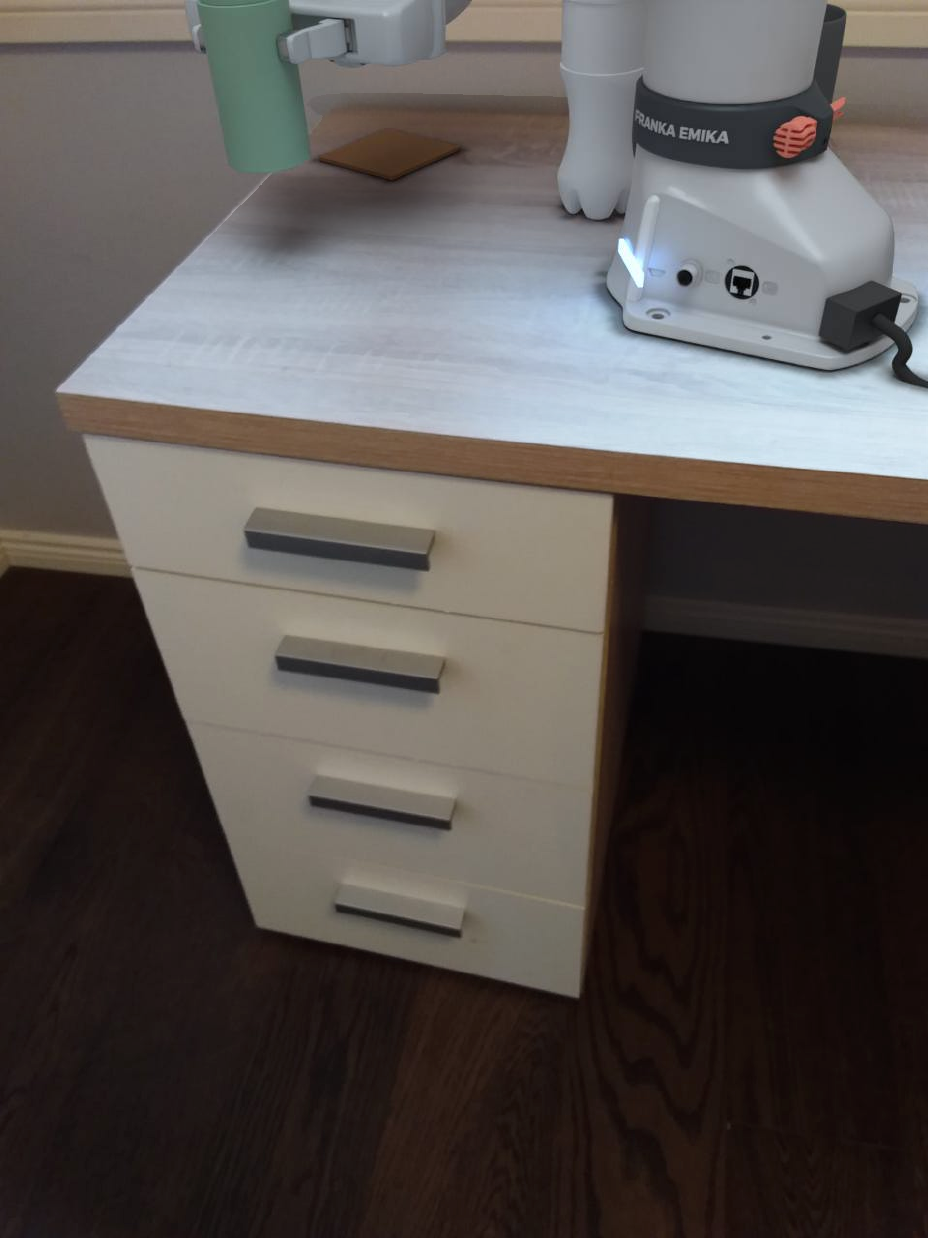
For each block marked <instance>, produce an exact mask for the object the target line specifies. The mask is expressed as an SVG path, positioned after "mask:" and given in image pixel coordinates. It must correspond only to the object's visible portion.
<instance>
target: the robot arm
mask: <svg viewBox="0 0 928 1238" xmlns="http://www.w3.org/2000/svg"><path fill="white" fill-rule="evenodd" d="M183 1H184V2H183V3H184V11H185V12H184V13H185V18H186V22H187V27H188V30H189V34H190V39H191V40H192V42H193V43H194V48H195V51H196V52H197V53H198V54H204V55H207V53H206V48H205V43H204V38H203V33H202V28H201V23H200V18H199V13H198V8H197V3H196V0H183ZM828 1H829V0H648V10H647V24H646V38H645V52H644V66H643V75H642V76H641V77H639V79H638V80H637V83H636V91H635V101H634V111H633V125H632V148H633V155H634V158H635V161H634V168H633V175H632V182H631V188H630V194H629V199H628V204H627V210H626V213H625V215H624V219H623V222H622V223H623V224H622V229H621V231H620V236H619V238H618V243H617V246H616V250H615V253H614V256H613V259H612V262H611V265H610V267H609V269H608V272H607V275H606V287H607V289H608V291H609V293H610V295H611V296H612V297H613V298H614V299H615V300H616V302H618V303H619V305H620V307H621V308H622V321H623V324H624V326H625V327H626V328H628V329H629V330H632V331H636V332H638V333H639V332H640V333H644V334H648V335H653V336H657V337H663V338H668V339H674V340H677V341H678V340H679V341H683V342H687V343H692V344H698V345H703V346H707V347H712V348H716V349H720V350H726V351H731V352H736V353H741V354H745V355H751V356H756V357H760V358H765V359H770V360H775V361H780V362H783V363H789V364H795V365H799V366H804V367H810V368H814V369H817V370H818V369H820V370H826V371H830V370H831V371H833V370H834V371H835V370H838V369H844V368H847V367H852V366H855V365H858V364H862V363H863V362H866V361H868V360H870V359H872V358H874V357H877V356H878V355H880V354H881V353H883V352H884V351H886V350H887V349H889V348H891V347H892V346H893V345H894V344H895V345H896V348H897V351H896V354H895V355H894V357H893V358H892V361H891V368H892V370H893V373H894V374H895V375H896V376H897V378H898V379H899V380H900V381H901V382H903V383H905V384H908V385H911V386H915V387H920V388H924V389H928V380H925V379H924V378H923V377H920V376H918V375H917V374H916V373H914V371H912V369H911V368H910V367H909V366H908V364H907V363H908V361H909V360H910V358H911V357H912V355H913V350H914V346H913V343H912V340H911V338H910V336H909V335H908V334H907V331H909V329H910V328H911V326H912V324H913V323H914V322H915V319H916V317H917V313H918V307H919V301H920V300H919V293H918V290H917V288H916V286H915V285H914V284H913V283H912V282H909V281H907V280H904V279H901V278H899V277H896V276H893V273H894V272H893V271H894V264H895V263H894V260H895V248H896V246H895V245H896V243H895V242H896V241H895V228H894V223H893V219H892V218H891V215H890V214H889V212H888V211H887V210H886V208H884V207H883V206H882V205H881V204H880V203H879V202H878V201H877V200H876V199H875V198H874V197H873V195H872V194H871V193H870V192H869V191H868V190H867V189H866V187H864V185H862V183H860V181H859V180H858V179H857V178H856V176H854V175H853V173H852V172H851V171H850V170H849V169H848V167H847V166H845V164H844V163H843V162H842V161H841V160H840V158H839V157H838V156H837V155H836V154H835V153H834V151H832V149H831V148H830V147H829V144H830V143H829V142H830V138H831V134H832V129H833V128H832V127H833V122H834V121H836V120H837V119H839V118H841V117H842V116H843V115H844V113H845V111H843V110H842V111H841V109H843V107H844V106H845V104H846V102H847V97H846V96H842V97H840V98H838V99H836V100H835V101H834V102H832V104H829V103H828V101H827V100H826V98H825V97H824V95H823V94H822V92H821V91H820V89H819V87H818V84H817V82H816V80H815V79H814V77H813V75H814V69H815V64H816V58H817V52H818V47H819V42H820V36H821V31H822V26H823V21H824V16H825V11H826V6H827V4H828ZM472 2H473V0H289V6H290V13H291V20H292V27H293V30H289V31H286V32H285V33H282V34H279V35H278V36H277V39H276V44H277V47H278V49H279V52H278V57H279V60H280V61H281V62H284V63H291V64H298V65H302V64H303V63H305V62H308V61H310V60H320V59H321V60H328V61H330V62H331V63H333V64H334V65H337V66H340V67H343V68H348V69H357V68H362V67H365V66H366V65H377V66H383V67H401V66H408V65H411V64H413V63H417V62H419V61H424V60H429V61H430V60H434V59H437V58H439V57H442V56H443V55H444V54H445V51H446V37H447V36H446V34H447V33H446V31H447V29H446V28H447V27H446V26H448V25H449V24H451V22H453V21H454V20H456V19H457V18H458V17H459V16H460V15H461V14H462V13H463V12H464V11H465V10H466V9H467V8H468V7H469V6H470V4H471V3H472Z"/></svg>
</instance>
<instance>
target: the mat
mask: <svg viewBox="0 0 928 1238" xmlns="http://www.w3.org/2000/svg"><path fill="white" fill-rule="evenodd" d="M459 151H461V146H460V145H457V144H453V143H449V142H444V141H441V140H436V139H431V138H428V137H424V136H419V135H415V134H411V133H407V132H403V131H400V130H399V131H398V130H394V129H390V128H386V129H383V130H381V131H378V132H376V133H374V134H371V135H369V136H366V137H364V138H363V137H362V138H360V139H358V140H356V141H353V142H351V143H348V144H346V145H343V146H342V147H339V148H336V149H334V150H331V151H329V152H327V153H323V154H321V155H319V156H318V160H319V161H321V162H324V163H328V164H330V165H331V164H332V165H334V166H338V167H342V168H346V169H349V170H353V171H356V172H361V173H365V174H368V175H372V176H374V177H379V178H381V179H386V180H389V181H395V180H396V179H399V178H401V177H403V176H405V175H408V174H410V173H412V172H415V171H417V170H418V169H421V168H424V167H425V166H428V165H430V164H433V163H435V162H437V161H439V160H441V159H444V158H445V157H448V156H450V155H452V154H453V155H454V154H455V153H458V152H459Z"/></svg>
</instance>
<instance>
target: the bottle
mask: <svg viewBox="0 0 928 1238" xmlns="http://www.w3.org/2000/svg"><path fill="white" fill-rule="evenodd" d="M196 3H197V8H198V13H199V18H200V23H201V28H202V33H203V38H204V43H205V48H206V53H207V54H206V58H207V61H208V63H207V64H208V68H209V72H210V78H211V84H212V88H213V92H214V97H215V98H214V99H215V103H216V107H217V112H218V118H219V122H220V128H221V133H222V138H223V142H224V143H223V144H224V147H225V148H224V149H225V154H226V158H227V162H228V166H229V167H230V168H231V169H233V170H235V171H238V172H241V173H246V174H272V173H279V172H283V171H284V172H285V171H288V170H291V169H295V168H297V167H300V166H301V165H304V164H306V163H307V162H308V161H309V160H310V159H311V157H312V150H311V143H310V138H309V137H310V135H309V131H308V130H309V129H308V124H307V123H308V122H307V117H306V110H305V102H304V97H303V96H304V95H303V90H302V89H303V88H302V84H301V83H302V82H301V75H300V67H299V64H291V63H284V62H281V61H280V60H279V57H278V52H279V49H278V47H277V44H276V39H277V36H278V35H279V34H282V33H285V32H286V31H289V30H293V27H292V20H291V13H290V6H289V0H196Z"/></svg>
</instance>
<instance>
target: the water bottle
mask: <svg viewBox="0 0 928 1238" xmlns="http://www.w3.org/2000/svg"><path fill="white" fill-rule="evenodd" d="M561 1H562V2H561V48H560V49H561V50H560V52H561V54H560V56H561V57H560V61H559V64H558V65H559V68H558V70H559V74H560V77H561V79H562V83H563V86H564V89H565V92H566V93H565V94H566V98H567V104H568V119H569V123H568V124H569V126H568V135H567V136H568V137H567V141H566V146H565V151H564V153H563V156H562V160H561V163H560V165H559V167H558V170H557V173H556V174H557V175H556V177H557V187H558V193H559V196H560V200H561V202H562V204H563V206H564V208H565V210H566V211H567V212H568V213H569V214H573V215H575V214H577V213H579V212H580V211H581V210H582V211H583V213H584V214H585V217H586V218H588V219H590V220H594V221H595V220H597V221H599V220H605V219H608V218H609V217H610V216H611V215H612V213H613V211H614V210H615V211H616V212H617V213H619V214H620V215H621V214H626V210H627V204H628V199H629V194H630V188H631V182H632V175H633V168H634V161H635V158H634V155H633V148H632V125H633V111H634V101H635V91H636V83H637V80H638V79H639V77H641V76H642V75H643V66H644V52H645V38H646V24H647V10H648V0H561Z"/></svg>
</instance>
